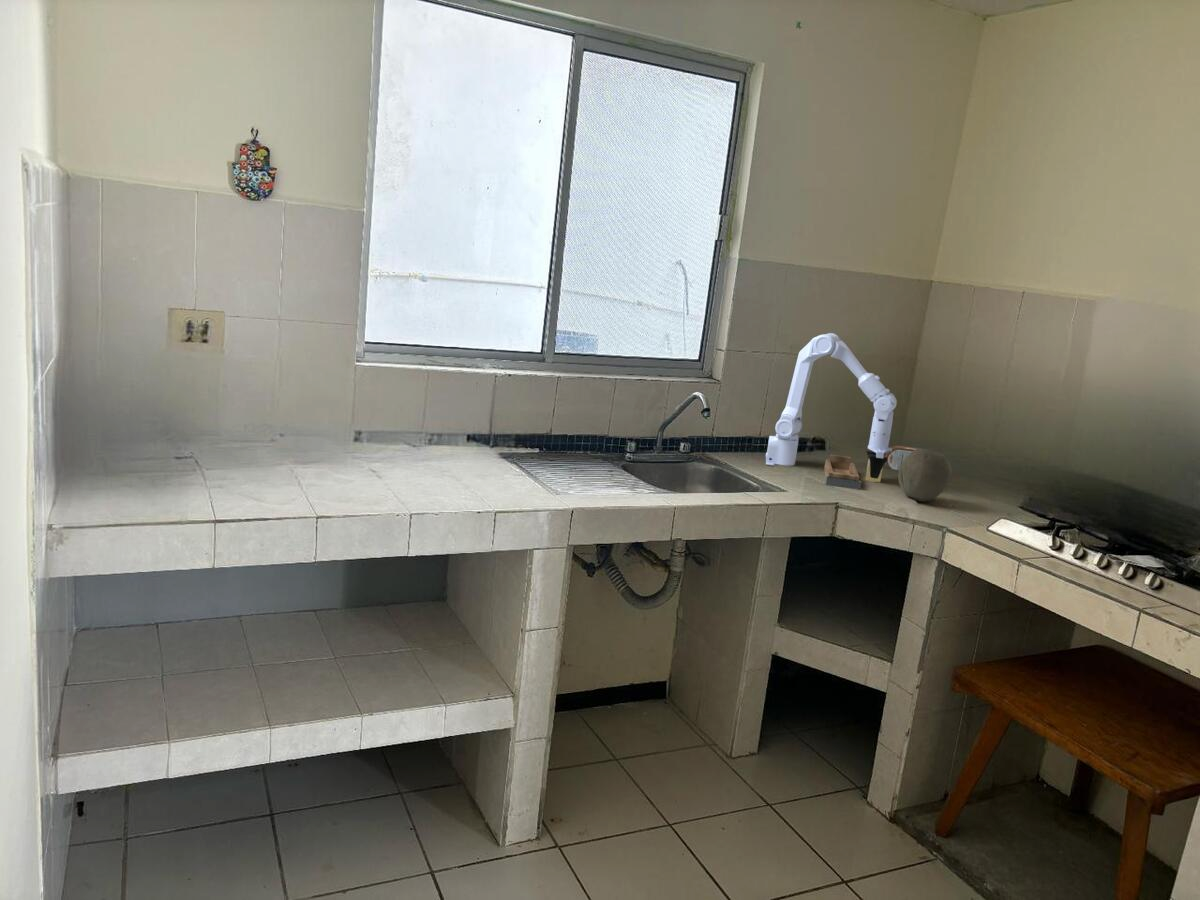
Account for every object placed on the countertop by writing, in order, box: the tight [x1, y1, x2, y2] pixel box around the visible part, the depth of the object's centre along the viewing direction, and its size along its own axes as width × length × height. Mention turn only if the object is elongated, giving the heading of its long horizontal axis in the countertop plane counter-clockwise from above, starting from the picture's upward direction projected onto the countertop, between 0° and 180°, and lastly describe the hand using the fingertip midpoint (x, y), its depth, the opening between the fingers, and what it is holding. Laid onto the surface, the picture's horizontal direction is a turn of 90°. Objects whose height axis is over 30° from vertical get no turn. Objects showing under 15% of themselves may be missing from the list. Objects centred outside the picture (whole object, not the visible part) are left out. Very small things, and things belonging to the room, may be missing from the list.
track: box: [824, 475, 863, 490], centre depth 287 cm, size 11×29×3 cm, turn 170°
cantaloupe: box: [897, 448, 953, 503], centre depth 269 cm, size 14×14×15 cm
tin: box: [884, 445, 922, 472], centre depth 305 cm, size 15×3×8 cm, turn 84°
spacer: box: [865, 458, 884, 483], centre depth 286 cm, size 4×4×7 cm
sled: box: [823, 454, 860, 481], centre depth 285 cm, size 9×20×5 cm, turn 170°
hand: (873, 476), depth 286 cm, fingers closed on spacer, 4 cm apart
